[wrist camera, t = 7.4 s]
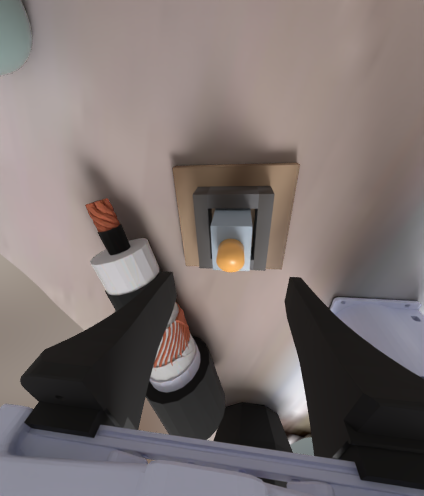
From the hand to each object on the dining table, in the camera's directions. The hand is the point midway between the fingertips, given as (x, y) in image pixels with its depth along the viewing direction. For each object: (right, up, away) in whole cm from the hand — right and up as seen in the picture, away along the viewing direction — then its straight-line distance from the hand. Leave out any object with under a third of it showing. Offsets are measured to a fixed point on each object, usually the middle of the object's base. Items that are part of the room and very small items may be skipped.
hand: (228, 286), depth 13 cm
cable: (-7, -6, +17) cm, 20 cm away
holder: (+1, +5, +9) cm, 10 cm away
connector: (+1, +5, +8) cm, 9 cm away
